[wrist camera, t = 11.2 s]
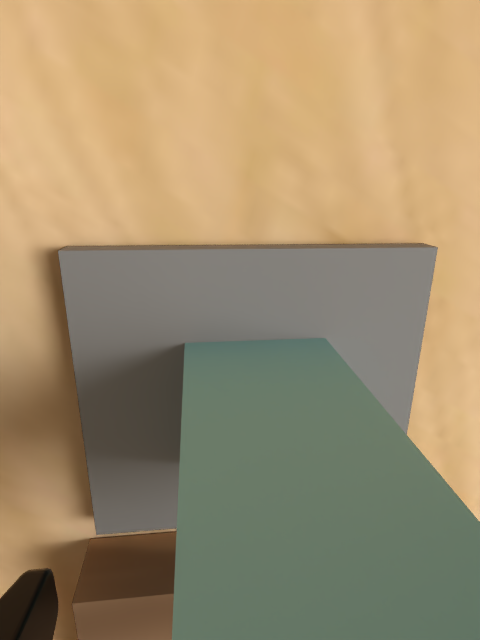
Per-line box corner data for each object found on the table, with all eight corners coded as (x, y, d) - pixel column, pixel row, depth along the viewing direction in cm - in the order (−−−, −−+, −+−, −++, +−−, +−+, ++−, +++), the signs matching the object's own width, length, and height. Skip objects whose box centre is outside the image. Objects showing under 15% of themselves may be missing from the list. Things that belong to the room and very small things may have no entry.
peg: (315, 454, 14) (552, 979, 5) (189, 463, 14) (184, 1061, 4) (325, 338, 13) (682, 763, 4) (184, 343, 12) (161, 850, 3)
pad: (384, 495, 16) (394, 510, 16) (101, 517, 15) (96, 534, 14) (423, 243, 13) (437, 247, 12) (66, 246, 12) (58, 250, 11)
